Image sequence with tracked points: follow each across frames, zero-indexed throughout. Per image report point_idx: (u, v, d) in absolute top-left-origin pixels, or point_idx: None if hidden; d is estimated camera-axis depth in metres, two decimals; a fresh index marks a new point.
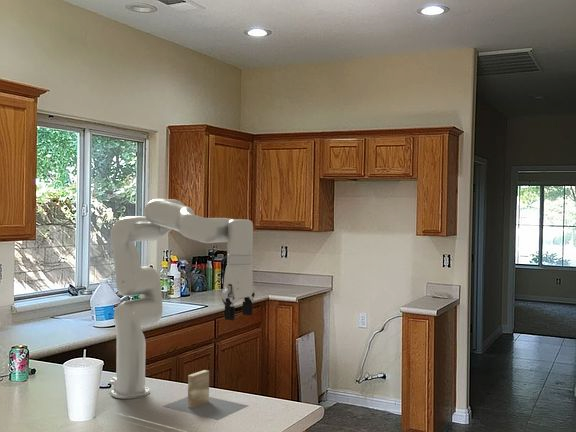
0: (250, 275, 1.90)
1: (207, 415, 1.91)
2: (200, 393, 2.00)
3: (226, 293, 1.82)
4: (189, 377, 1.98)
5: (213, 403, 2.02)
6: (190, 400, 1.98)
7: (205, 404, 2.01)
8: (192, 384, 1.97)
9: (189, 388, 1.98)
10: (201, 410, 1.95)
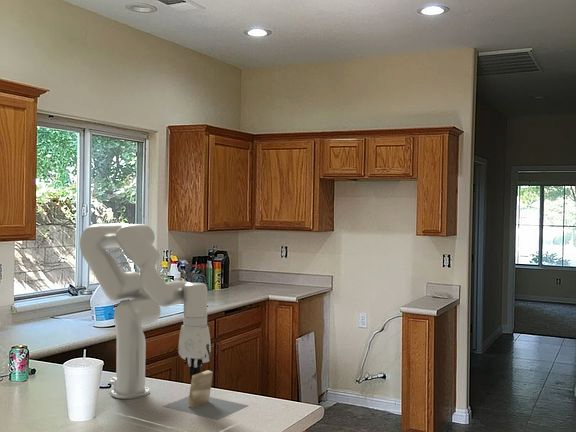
0: None
1: (207, 415, 1.91)
2: (201, 393, 2.00)
3: None
4: (193, 377, 1.97)
5: (213, 403, 2.02)
6: (191, 400, 1.98)
7: (205, 404, 2.01)
8: (195, 385, 1.97)
9: (191, 388, 1.97)
10: (201, 410, 1.95)
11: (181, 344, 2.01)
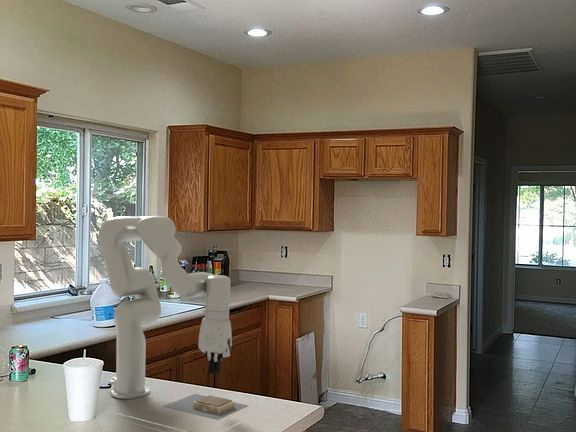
0: None
1: (207, 415, 1.91)
2: None
3: None
4: (217, 408, 1.92)
5: None
6: (198, 406, 1.96)
7: None
8: (211, 411, 1.93)
9: (208, 407, 1.94)
10: (201, 410, 1.95)
11: (201, 337, 1.97)
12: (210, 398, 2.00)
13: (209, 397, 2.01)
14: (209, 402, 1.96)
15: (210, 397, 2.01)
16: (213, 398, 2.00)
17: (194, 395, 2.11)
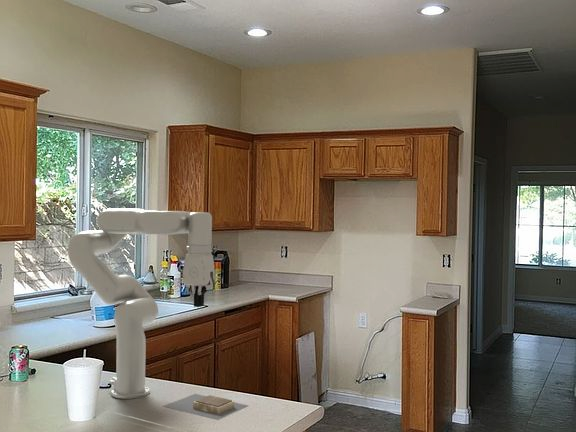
0: None
1: (207, 415, 1.91)
2: None
3: None
4: (217, 408, 1.92)
5: None
6: (198, 406, 1.96)
7: None
8: (211, 411, 1.93)
9: (208, 407, 1.94)
10: (201, 410, 1.95)
11: (185, 272, 2.04)
12: (210, 398, 2.00)
13: (209, 397, 2.01)
14: (209, 402, 1.96)
15: (210, 397, 2.01)
16: (213, 398, 2.00)
17: (194, 395, 2.11)
